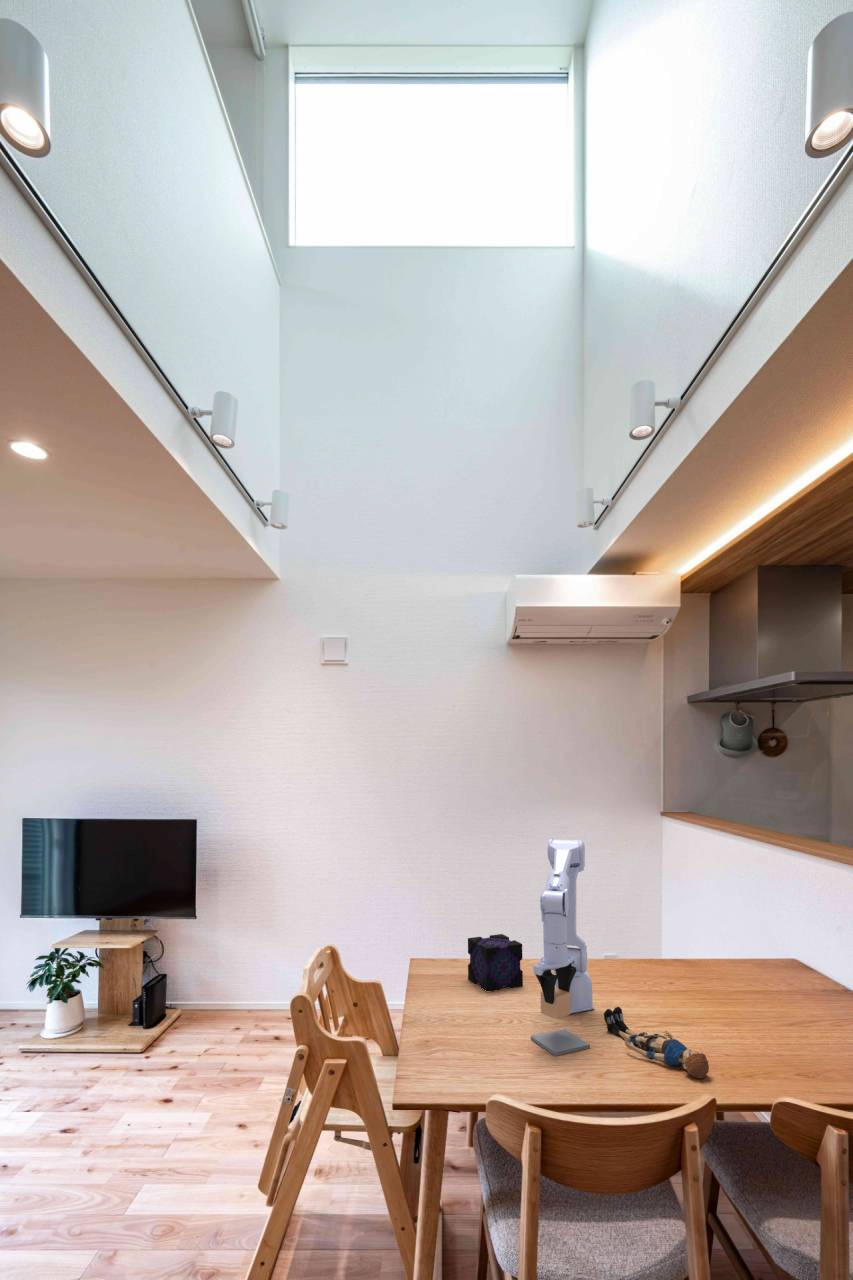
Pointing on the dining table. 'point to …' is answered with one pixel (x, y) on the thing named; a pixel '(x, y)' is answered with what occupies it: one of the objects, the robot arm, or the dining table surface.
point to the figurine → (658, 1046)
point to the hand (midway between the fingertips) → (556, 1000)
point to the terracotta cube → (556, 1004)
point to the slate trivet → (560, 1042)
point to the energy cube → (495, 962)
